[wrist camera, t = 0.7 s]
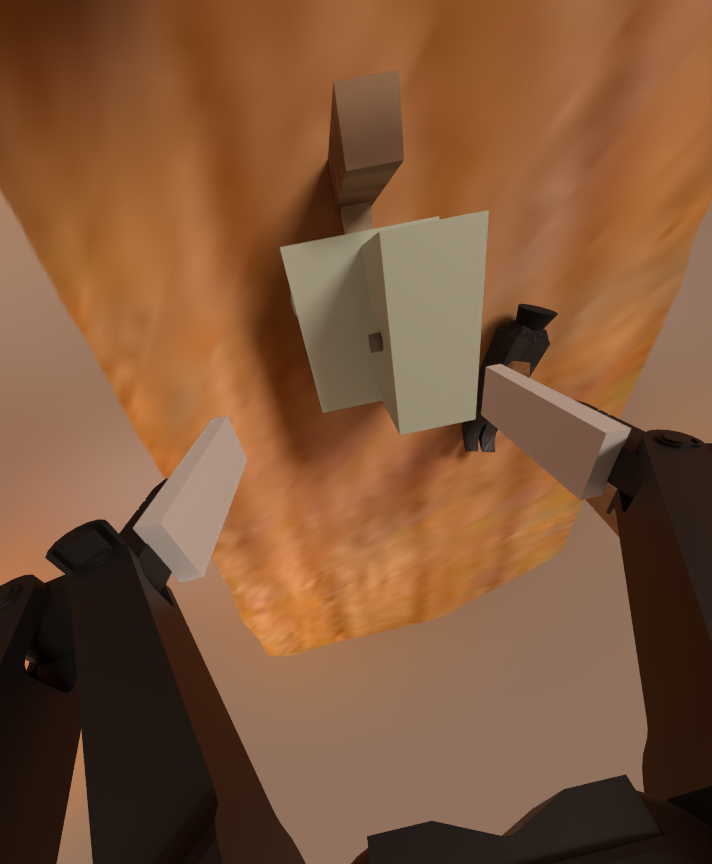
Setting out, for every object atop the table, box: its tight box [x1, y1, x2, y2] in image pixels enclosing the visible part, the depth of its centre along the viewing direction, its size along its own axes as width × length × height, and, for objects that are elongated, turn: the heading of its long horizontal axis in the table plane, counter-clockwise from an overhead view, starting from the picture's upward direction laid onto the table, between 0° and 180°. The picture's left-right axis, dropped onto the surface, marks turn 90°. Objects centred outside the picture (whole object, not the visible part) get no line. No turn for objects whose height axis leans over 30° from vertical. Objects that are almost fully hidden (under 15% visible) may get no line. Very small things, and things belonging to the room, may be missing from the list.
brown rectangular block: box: [328, 70, 404, 234], centre depth 26 cm, size 18×4×12 cm, turn 11°
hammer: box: [462, 304, 619, 536], centre depth 29 cm, size 20×5×30 cm, turn 174°
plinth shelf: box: [280, 210, 489, 435], centre depth 27 cm, size 16×14×16 cm
